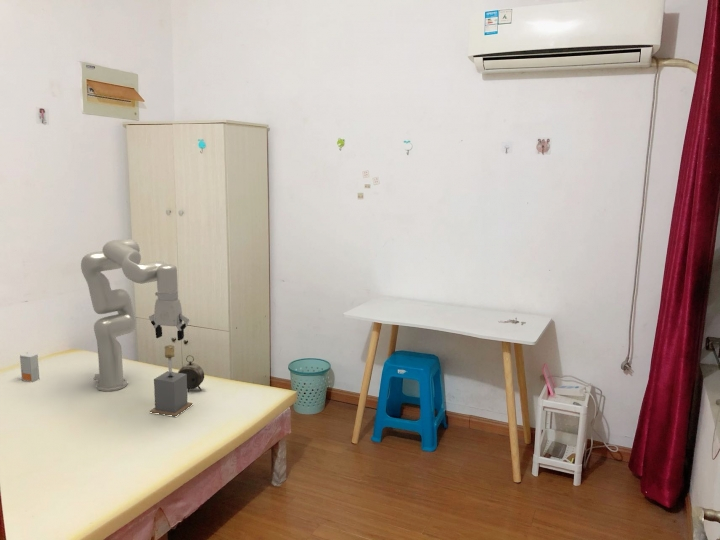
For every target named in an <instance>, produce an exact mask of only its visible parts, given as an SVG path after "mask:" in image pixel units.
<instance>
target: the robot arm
mask: <svg viewBox="0 0 720 540" xmlns="http://www.w3.org/2000/svg"><path fill="white" fill-rule="evenodd" d="M141 260H142V256H141V253H140V245H139V244H138V242H137V241H136V240H134V239H132V238H124V239H114V240H110V241H107V242H106V243H105V244H104V245H103V247H102V250H101V251H95V252H90V253H86V255H83V257H82V258H81V262H80V269H81V274H82V276H83V278H84V280H85V281H86V283H87V284H86V285H87V287H88V292H89V296H90V300H91V305H92V308H93V311H94V312H95V313H96V314H98V315H106V314H110V313H115V312H117V314H113V315H112V314H111V315H107V316H104V317H101V318H99V319H97V320H96V321H95V322H94V325H93V331H94V336H95V338H96V345H97V357H98V359H97V361H98V373H99V374H98V373H95V374H94V376H93V379H92V380H93V381H97V383H96V385H95V386H96V387H95V388H96V390H99V391H100V392H101V391H102V392H113V391H117V390H121V389H123V388H125V387H127V385H128V381H127V379H124V368H123V367H124V366H123V351H122V344H121V343H120V341H118V340H117V338H118V337H121V336H124V335H127V334H128V335H129V334H131V333H133V332H134V331H135V330H136V327H137V321H136V317H135V312H134V308H133V303H132V299H131V296H130V294H129V293H128V291H126V290H125V289H123V288H117V289H111V283H110V279H108V277H107V275H105V274H104V273H103V272H105V271H112V270H118V269H121V270H122V273H123V274H124V276H125V277H126V278H127V279H128V280H130V281H132V282H134V283H136V284H149V283H152V282H156V289H157V292H155V293H154V294H155V297H157V298H156V300H155V305H154V310H153V311H154V313H153V314H151V315H149V316H148V319H149V320H150V323H151V325H152V326H153V328H154V330H155V331H154V332H155V338H156V339H159V338H162V337H163V328H162V327H163V326H165V327H166V326H167V327H176V328H177V341H182V340H184V338H185V332H184V331H185V329H186V328H187V326H188V324H189V322H190V319H189V318H187V317H186V316H185V315H183V310H182V309H183V308H182V304H181V300H180V298H179V289H178V286H179V285H178V269H177V266H176V265H175V264H172V263H170V264H169V263H167V262H164V261H153V262H147V263H146V262H145V263H141Z"/></svg>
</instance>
